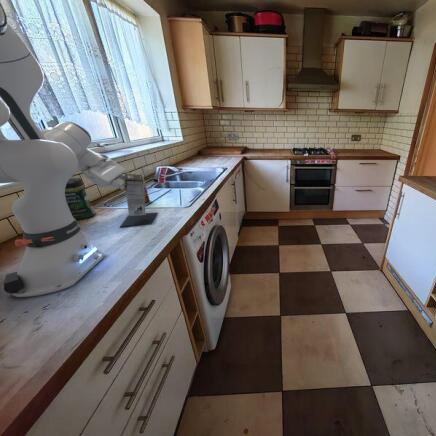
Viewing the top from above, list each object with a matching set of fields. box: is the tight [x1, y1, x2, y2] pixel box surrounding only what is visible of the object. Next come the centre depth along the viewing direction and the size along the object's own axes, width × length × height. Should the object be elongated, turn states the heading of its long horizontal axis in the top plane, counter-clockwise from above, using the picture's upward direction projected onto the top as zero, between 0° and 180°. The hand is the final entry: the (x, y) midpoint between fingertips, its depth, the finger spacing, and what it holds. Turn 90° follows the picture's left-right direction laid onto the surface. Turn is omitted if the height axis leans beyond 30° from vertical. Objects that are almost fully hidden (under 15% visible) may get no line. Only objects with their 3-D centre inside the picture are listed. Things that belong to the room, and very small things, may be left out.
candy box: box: [122, 174, 151, 205], centre depth 119 cm, size 9×4×15 cm, turn 123°
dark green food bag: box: [65, 177, 96, 220], centre depth 104 cm, size 10×8×19 cm
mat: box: [119, 212, 158, 228], centre depth 105 cm, size 12×12×1 cm
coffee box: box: [124, 173, 147, 216], centre depth 99 cm, size 9×6×16 cm
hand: (127, 185), depth 97 cm, fingers closed on coffee box, 6 cm apart
